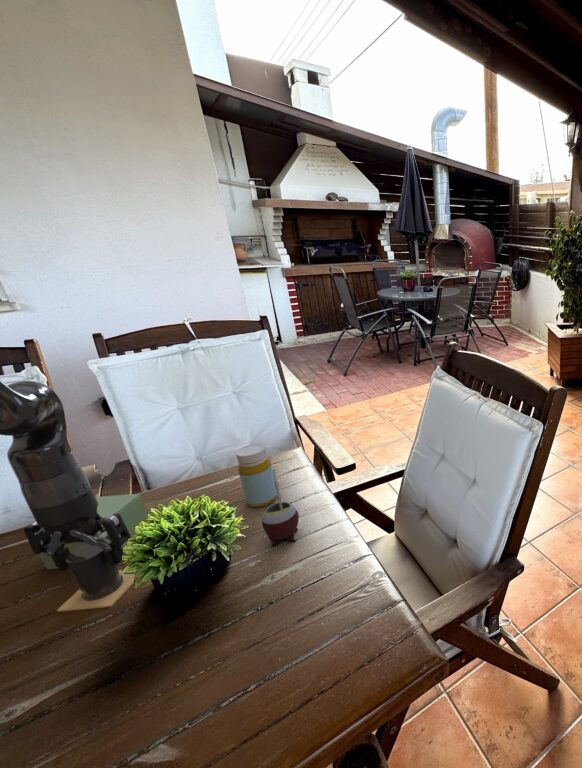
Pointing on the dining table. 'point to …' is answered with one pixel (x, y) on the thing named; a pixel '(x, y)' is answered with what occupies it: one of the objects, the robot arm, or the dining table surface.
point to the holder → (93, 572)
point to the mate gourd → (280, 519)
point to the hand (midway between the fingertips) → (93, 564)
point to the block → (107, 506)
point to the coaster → (80, 604)
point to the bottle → (256, 475)
